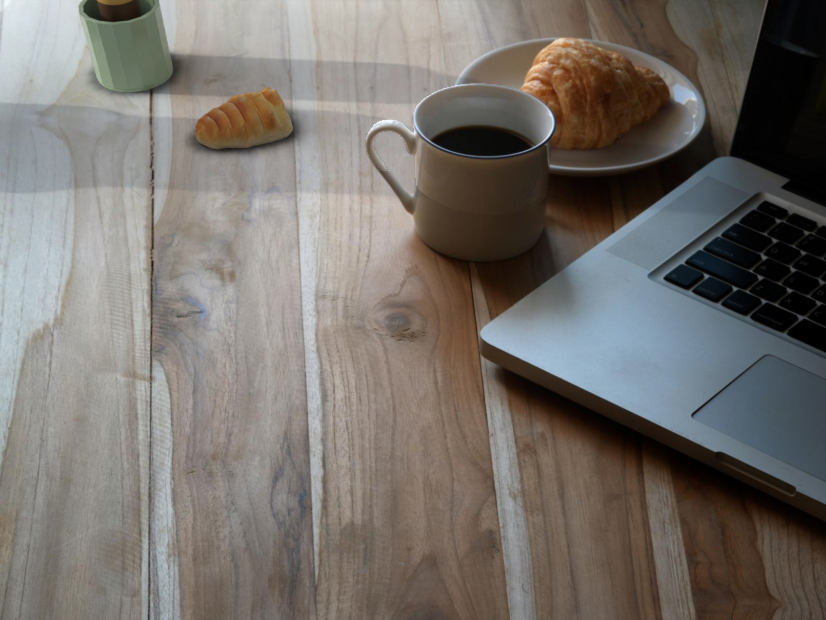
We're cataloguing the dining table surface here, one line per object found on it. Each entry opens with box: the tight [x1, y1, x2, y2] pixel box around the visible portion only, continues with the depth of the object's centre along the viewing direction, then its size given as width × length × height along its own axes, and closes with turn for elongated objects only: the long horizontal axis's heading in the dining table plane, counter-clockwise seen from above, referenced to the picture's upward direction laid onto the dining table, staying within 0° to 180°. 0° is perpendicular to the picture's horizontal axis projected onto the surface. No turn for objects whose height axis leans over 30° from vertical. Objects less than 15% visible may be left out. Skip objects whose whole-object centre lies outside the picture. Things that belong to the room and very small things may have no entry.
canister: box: [77, 0, 174, 93], centre depth 99 cm, size 8×8×8 cm
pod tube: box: [97, 0, 142, 22], centre depth 98 cm, size 4×4×9 cm
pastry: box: [194, 86, 294, 150], centre depth 93 cm, size 9×7×4 cm
